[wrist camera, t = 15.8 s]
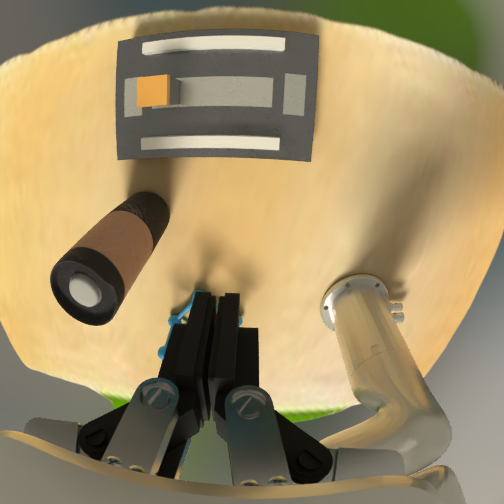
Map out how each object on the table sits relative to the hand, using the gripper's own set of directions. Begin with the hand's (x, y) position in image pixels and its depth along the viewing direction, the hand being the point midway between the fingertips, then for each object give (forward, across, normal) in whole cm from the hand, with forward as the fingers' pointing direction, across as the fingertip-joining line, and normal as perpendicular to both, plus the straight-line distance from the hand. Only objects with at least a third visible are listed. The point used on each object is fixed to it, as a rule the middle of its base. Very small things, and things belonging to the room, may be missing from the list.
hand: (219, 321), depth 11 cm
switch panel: (+29, +4, -10) cm, 31 cm away
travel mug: (+29, +14, +7) cm, 33 cm away
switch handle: (+25, +9, -10) cm, 28 cm away
